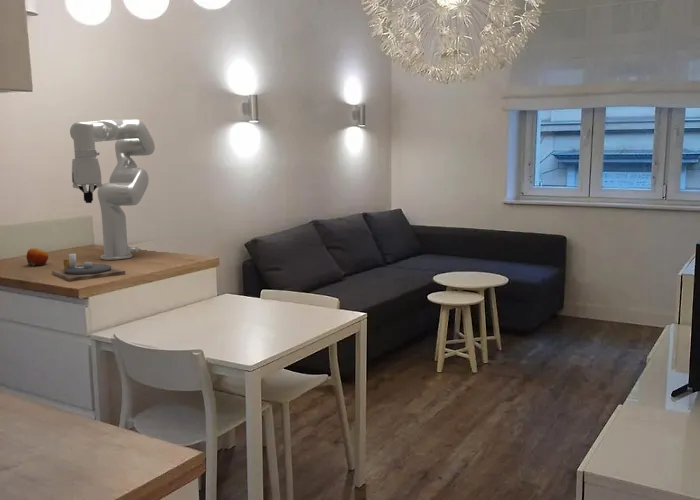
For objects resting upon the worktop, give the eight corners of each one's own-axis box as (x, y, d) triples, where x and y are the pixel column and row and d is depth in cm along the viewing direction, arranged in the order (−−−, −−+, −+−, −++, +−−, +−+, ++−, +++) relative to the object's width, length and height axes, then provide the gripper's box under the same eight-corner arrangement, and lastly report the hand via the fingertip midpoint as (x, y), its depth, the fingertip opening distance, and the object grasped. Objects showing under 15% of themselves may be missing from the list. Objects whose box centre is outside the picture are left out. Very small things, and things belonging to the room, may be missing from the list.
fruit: (18, 262, 271) (26, 244, 273) (34, 270, 277) (42, 252, 280) (29, 264, 267) (38, 245, 269) (46, 272, 273) (54, 253, 275)
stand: (105, 267, 266) (104, 254, 265) (125, 274, 251) (124, 260, 250) (52, 273, 254) (50, 260, 253) (69, 281, 238) (68, 266, 237)
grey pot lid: (65, 268, 257) (64, 252, 256) (110, 265, 262) (109, 250, 261) (63, 275, 242) (62, 259, 241) (111, 272, 247) (110, 256, 246)
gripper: (102, 154, 269) (105, 201, 272) (62, 155, 260) (66, 203, 263) (108, 154, 263) (111, 202, 266) (67, 155, 254) (70, 204, 257)
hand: (88, 202), depth 264 cm, fingers closed
